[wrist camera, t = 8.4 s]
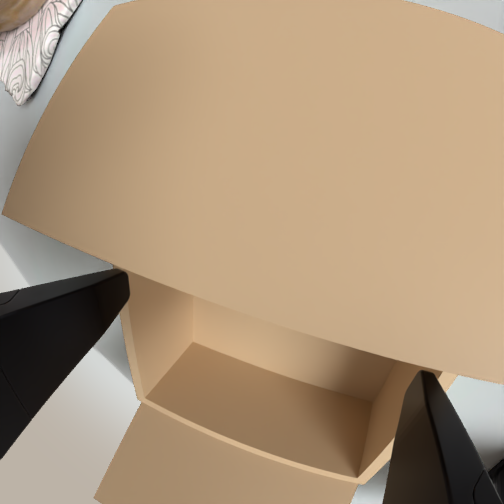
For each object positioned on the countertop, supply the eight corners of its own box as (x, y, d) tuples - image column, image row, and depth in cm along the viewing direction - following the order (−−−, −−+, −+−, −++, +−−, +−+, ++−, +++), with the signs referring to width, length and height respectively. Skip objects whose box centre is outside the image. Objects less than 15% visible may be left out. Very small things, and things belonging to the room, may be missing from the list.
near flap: (121, 15, 8) (113, 6, 7) (554, 76, 4) (562, 65, 4) (15, 219, 7) (1, 214, 6) (548, 390, 3) (562, 394, 3)
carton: (378, 402, 17) (363, 485, 12) (189, 339, 21) (137, 399, 16) (494, 90, 9) (562, 81, 4) (205, 38, 13) (115, 16, 8)
